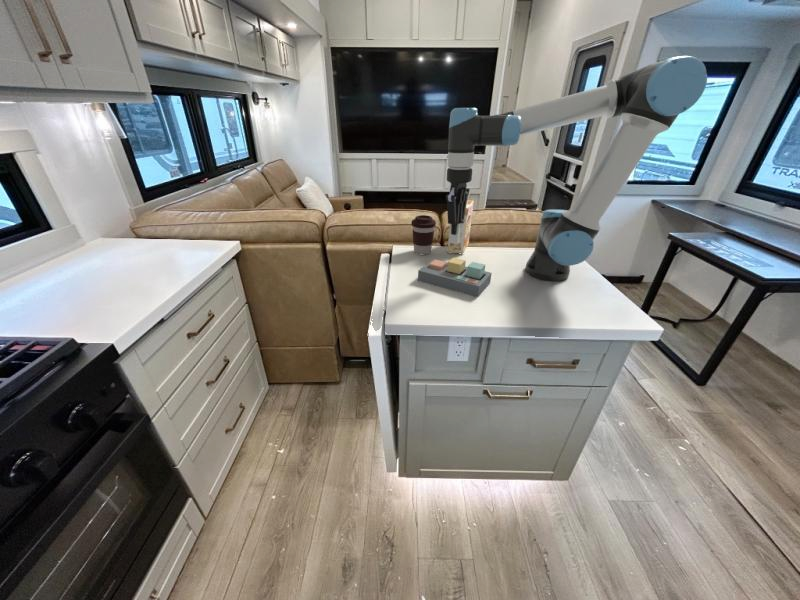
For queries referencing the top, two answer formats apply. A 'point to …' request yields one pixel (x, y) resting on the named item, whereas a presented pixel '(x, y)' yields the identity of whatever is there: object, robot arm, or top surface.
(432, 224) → the coffee cup
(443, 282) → the keypad board
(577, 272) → the top surface
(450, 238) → the robot arm
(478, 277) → the key
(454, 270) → the key mid
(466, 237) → the coffeecake box
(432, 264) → the key
